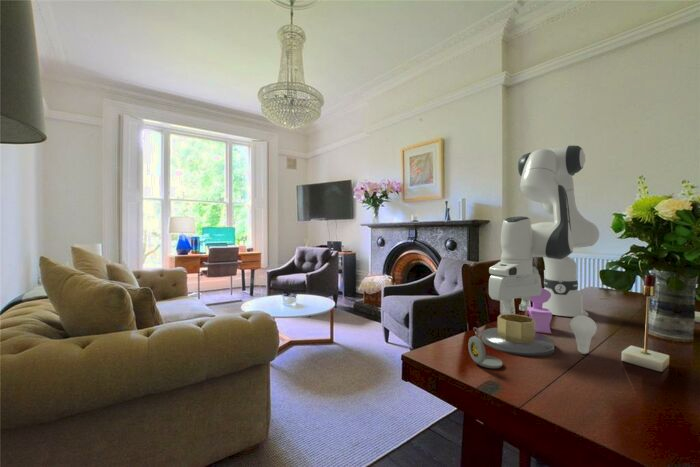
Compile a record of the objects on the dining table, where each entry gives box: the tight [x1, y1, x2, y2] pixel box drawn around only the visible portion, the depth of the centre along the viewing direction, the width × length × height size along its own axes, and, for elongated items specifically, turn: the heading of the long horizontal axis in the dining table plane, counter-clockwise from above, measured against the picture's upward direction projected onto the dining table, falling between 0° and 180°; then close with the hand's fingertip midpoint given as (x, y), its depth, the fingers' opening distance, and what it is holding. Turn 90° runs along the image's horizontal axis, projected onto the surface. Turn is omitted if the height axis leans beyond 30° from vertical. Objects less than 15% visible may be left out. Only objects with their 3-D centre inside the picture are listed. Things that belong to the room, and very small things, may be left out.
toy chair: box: [526, 287, 553, 334], centre depth 110 cm, size 8×9×15 cm
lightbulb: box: [569, 315, 598, 355], centre depth 88 cm, size 6×6×11 cm
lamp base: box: [481, 313, 555, 357], centre depth 96 cm, size 20×20×8 cm
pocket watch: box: [467, 327, 503, 369], centre depth 81 cm, size 8×8×10 cm
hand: (516, 311), depth 96 cm, fingers open, 5 cm apart
